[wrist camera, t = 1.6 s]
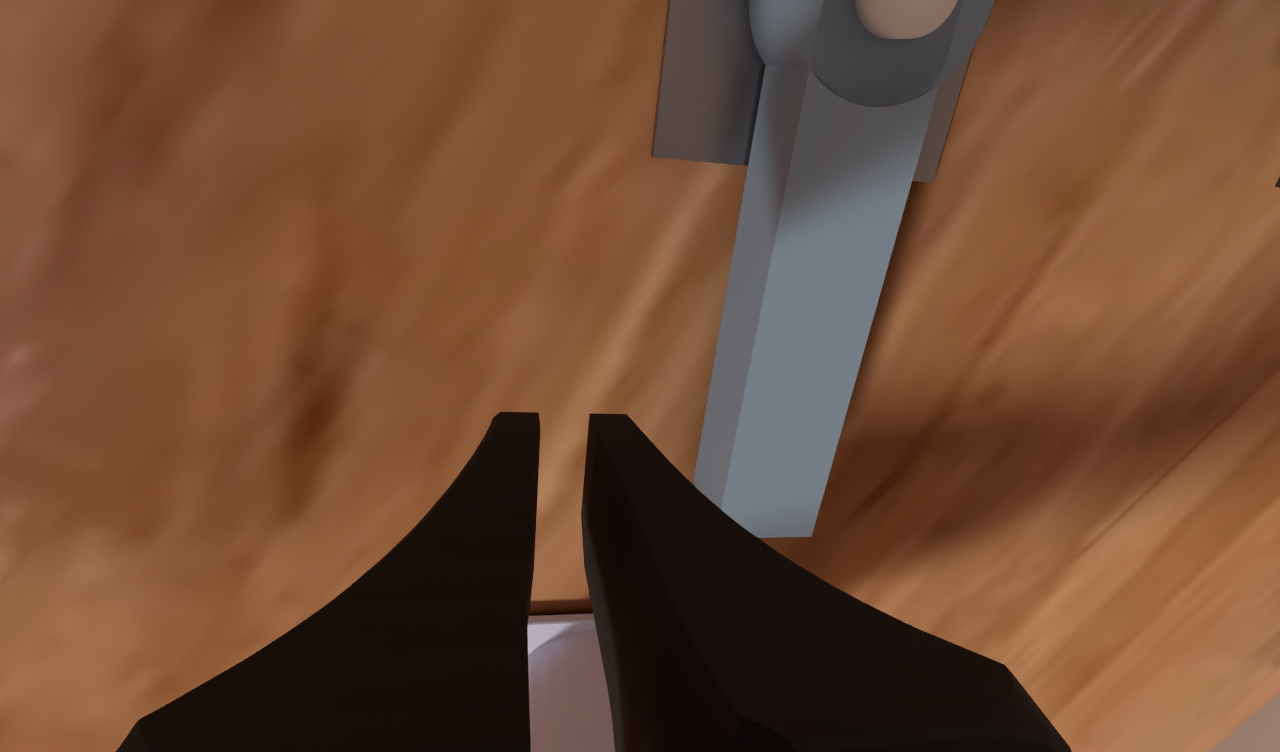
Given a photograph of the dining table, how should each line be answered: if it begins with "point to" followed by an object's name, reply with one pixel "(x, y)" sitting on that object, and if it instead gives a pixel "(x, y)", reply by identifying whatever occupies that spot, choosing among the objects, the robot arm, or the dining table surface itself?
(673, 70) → the grey flat square plate
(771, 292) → the link
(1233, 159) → the dining table surface
